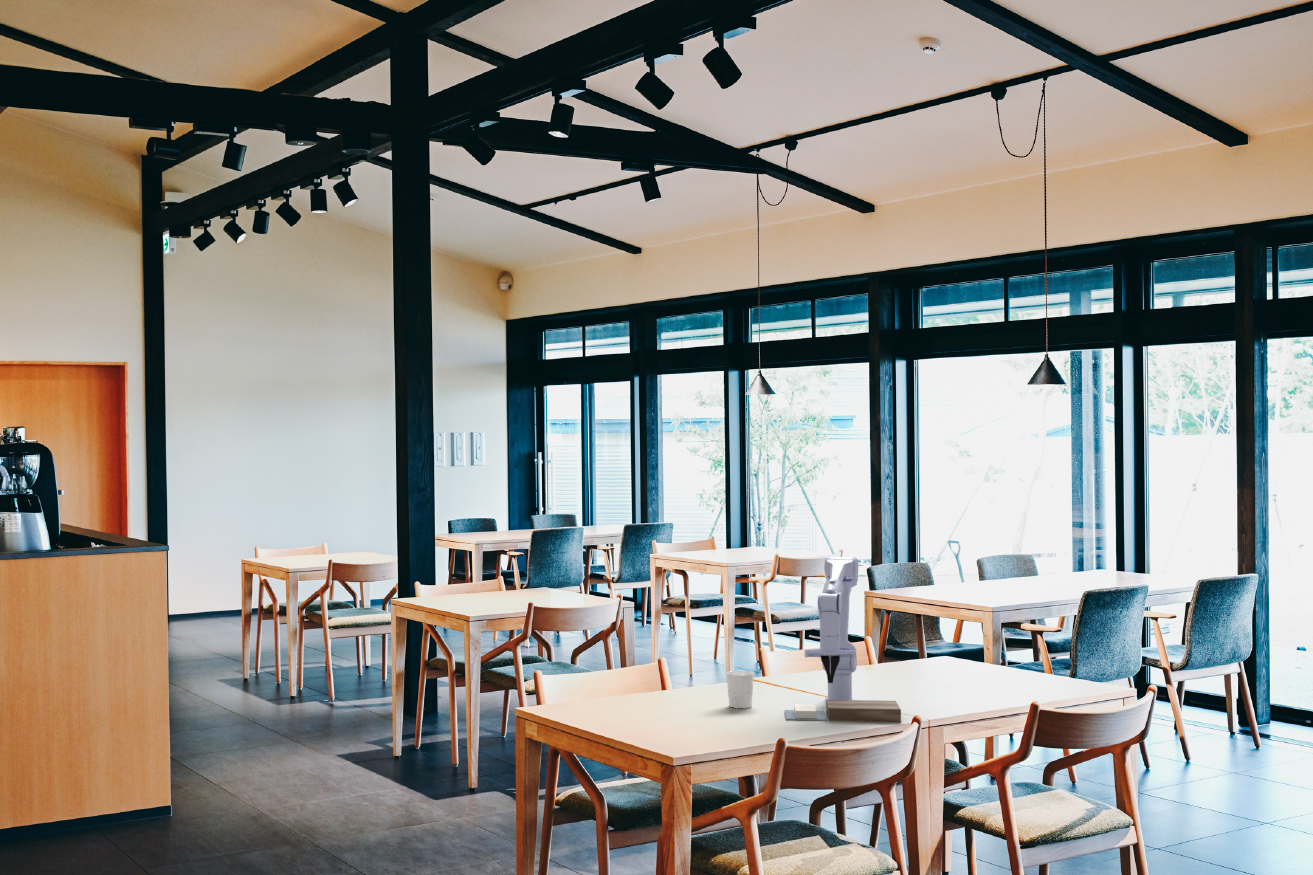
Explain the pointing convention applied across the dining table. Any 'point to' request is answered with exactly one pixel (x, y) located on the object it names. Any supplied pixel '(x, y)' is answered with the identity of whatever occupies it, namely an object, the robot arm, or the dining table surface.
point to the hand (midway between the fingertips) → (830, 682)
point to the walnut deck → (863, 710)
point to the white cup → (740, 688)
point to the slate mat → (820, 717)
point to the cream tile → (805, 711)
